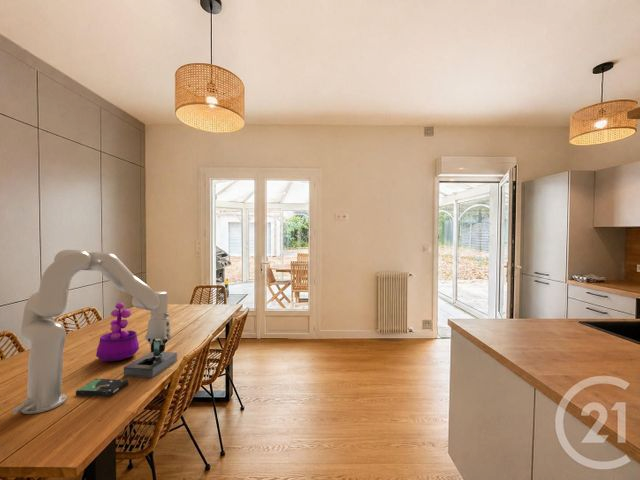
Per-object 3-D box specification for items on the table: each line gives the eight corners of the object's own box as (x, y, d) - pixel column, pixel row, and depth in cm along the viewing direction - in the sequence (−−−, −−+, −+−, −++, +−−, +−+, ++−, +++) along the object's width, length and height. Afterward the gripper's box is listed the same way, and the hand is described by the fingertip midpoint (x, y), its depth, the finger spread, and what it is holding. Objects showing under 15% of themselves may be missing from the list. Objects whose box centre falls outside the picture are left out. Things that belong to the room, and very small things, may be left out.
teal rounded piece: (159, 366, 145) (159, 342, 145) (149, 365, 145) (150, 342, 145) (165, 362, 150) (165, 339, 150) (155, 361, 150) (156, 338, 150)
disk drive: (128, 386, 126) (95, 384, 126) (128, 379, 126) (95, 378, 126) (110, 398, 116) (74, 396, 116) (111, 391, 116) (75, 389, 116)
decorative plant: (134, 349, 167) (136, 297, 167) (142, 358, 153) (144, 302, 154) (93, 357, 153) (95, 301, 154) (98, 369, 140) (100, 307, 141)
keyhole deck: (152, 378, 132) (152, 368, 133) (123, 376, 133) (123, 367, 133) (176, 360, 152) (177, 352, 152) (151, 359, 153) (151, 351, 153)
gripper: (178, 314, 151) (177, 349, 150) (148, 313, 152) (147, 348, 152) (170, 318, 143) (169, 355, 143) (138, 317, 144) (137, 353, 144)
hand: (157, 351), depth 147 cm, fingers closed on teal rounded piece, 3 cm apart
